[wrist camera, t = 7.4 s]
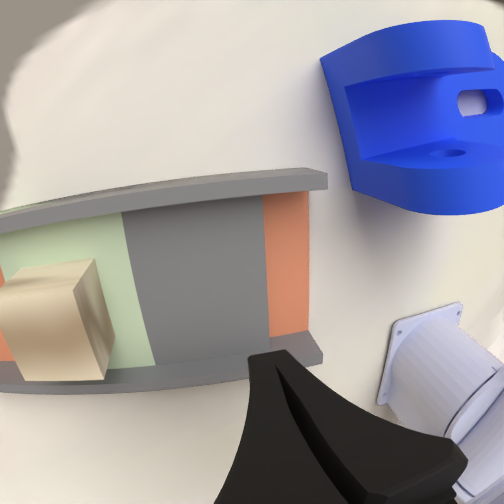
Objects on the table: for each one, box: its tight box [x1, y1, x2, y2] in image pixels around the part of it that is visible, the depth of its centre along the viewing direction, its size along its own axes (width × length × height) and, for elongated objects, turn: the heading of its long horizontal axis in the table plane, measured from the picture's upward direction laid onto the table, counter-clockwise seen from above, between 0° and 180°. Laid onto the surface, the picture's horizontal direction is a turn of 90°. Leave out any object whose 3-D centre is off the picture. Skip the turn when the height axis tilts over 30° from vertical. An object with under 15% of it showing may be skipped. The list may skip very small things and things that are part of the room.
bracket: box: [320, 20, 504, 215], centre depth 14 cm, size 18×8×9 cm, turn 105°
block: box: [0, 258, 116, 381], centre depth 15 cm, size 5×5×4 cm
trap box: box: [0, 168, 328, 395], centre depth 17 cm, size 12×27×3 cm, turn 93°
